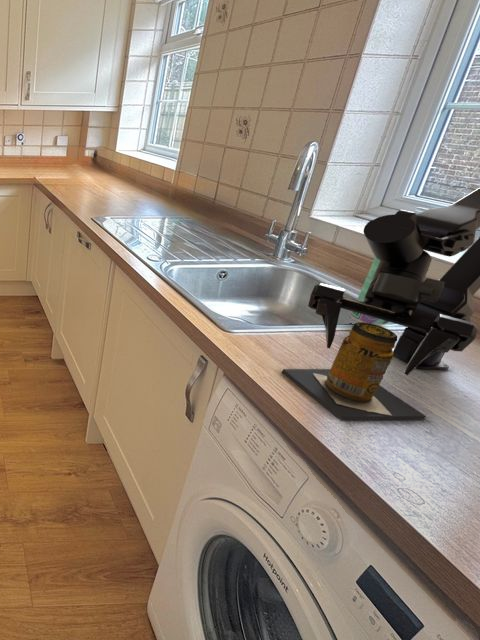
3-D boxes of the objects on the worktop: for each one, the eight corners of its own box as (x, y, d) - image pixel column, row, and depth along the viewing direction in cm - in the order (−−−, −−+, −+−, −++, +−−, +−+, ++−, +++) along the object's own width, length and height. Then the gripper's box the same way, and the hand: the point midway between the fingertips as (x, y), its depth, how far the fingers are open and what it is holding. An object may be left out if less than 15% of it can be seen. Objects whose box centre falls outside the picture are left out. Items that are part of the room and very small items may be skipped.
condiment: (361, 383, 71) (389, 323, 67) (391, 416, 64) (425, 351, 59) (312, 374, 73) (336, 315, 69) (335, 405, 66) (364, 341, 61)
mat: (353, 372, 76) (354, 368, 75) (424, 419, 64) (426, 415, 64) (281, 372, 75) (282, 369, 74) (340, 420, 63) (342, 416, 63)
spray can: (373, 328, 91) (411, 244, 84) (344, 317, 96) (378, 236, 89) (386, 324, 93) (424, 242, 86) (357, 313, 98) (391, 234, 91)
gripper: (332, 238, 68) (297, 317, 65) (508, 273, 56) (475, 372, 53) (324, 270, 76) (292, 341, 73) (475, 307, 64) (445, 395, 60)
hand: (365, 360), depth 65 cm, fingers open, 9 cm apart
